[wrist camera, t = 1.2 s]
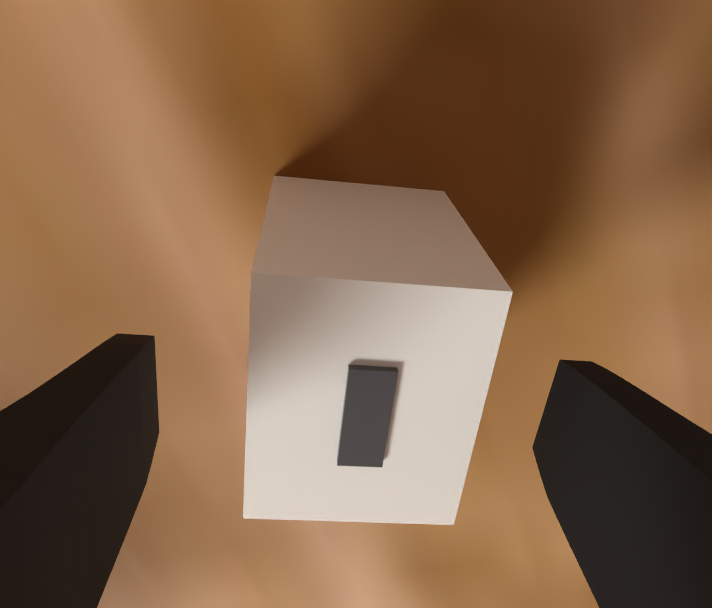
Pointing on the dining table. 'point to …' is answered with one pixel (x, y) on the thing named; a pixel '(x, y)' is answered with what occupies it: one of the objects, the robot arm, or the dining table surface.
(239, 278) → the dining table surface
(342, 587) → the dining table surface
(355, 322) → the brick
